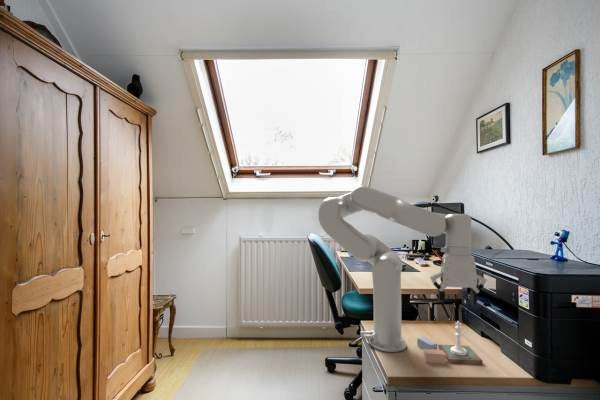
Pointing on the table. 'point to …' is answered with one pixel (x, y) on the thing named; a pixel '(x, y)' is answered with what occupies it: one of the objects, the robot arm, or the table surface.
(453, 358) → the green-topped square tray
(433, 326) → the table surface
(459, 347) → the chess piece
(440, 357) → the terracotta brick
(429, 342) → the slate-blue brick
